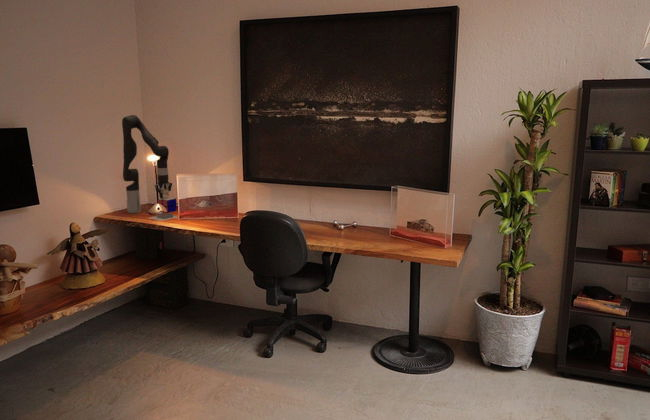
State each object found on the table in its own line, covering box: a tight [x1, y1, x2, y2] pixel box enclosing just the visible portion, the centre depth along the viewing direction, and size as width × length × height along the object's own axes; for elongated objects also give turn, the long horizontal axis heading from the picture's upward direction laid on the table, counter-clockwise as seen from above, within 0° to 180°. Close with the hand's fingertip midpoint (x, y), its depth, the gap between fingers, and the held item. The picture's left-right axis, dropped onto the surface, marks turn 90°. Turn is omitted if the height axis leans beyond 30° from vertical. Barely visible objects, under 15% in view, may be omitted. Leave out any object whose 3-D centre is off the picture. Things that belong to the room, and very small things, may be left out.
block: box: [159, 188, 169, 200], centre depth 375 cm, size 4×4×7 cm
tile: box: [156, 212, 174, 219], centre depth 379 cm, size 2×8×9 cm
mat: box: [148, 215, 178, 222], centre depth 378 cm, size 16×16×1 cm
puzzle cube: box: [157, 197, 178, 214], centre depth 400 cm, size 10×10×10 cm
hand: (164, 197), depth 376 cm, fingers closed on block, 4 cm apart
